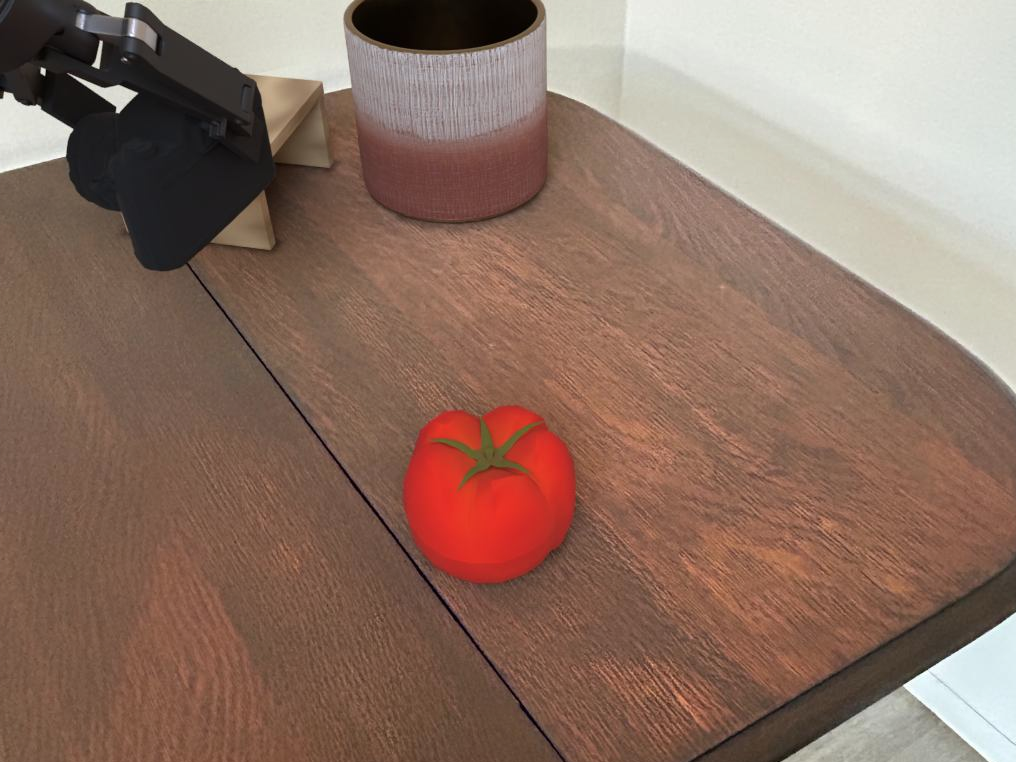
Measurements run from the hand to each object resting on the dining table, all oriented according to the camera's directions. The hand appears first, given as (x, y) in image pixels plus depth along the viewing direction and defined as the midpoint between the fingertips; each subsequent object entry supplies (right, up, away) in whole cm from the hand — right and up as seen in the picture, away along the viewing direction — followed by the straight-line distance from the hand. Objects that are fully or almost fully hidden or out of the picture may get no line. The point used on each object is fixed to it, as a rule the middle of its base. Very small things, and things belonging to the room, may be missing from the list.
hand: (181, 134), depth 69 cm
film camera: (-1, -5, +1) cm, 5 cm away
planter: (+16, +7, +31) cm, 36 cm away
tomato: (+21, -27, -1) cm, 35 cm away
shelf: (-5, +6, +29) cm, 30 cm away
